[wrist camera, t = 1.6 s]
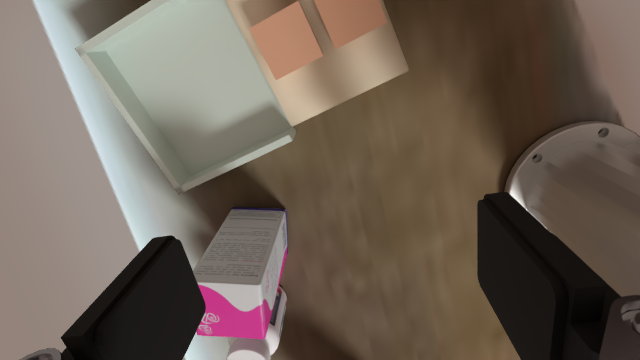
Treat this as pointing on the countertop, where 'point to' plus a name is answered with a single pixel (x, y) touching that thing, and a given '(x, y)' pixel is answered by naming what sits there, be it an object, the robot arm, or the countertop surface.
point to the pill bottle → (254, 354)
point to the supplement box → (243, 273)
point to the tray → (188, 88)
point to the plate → (324, 61)
